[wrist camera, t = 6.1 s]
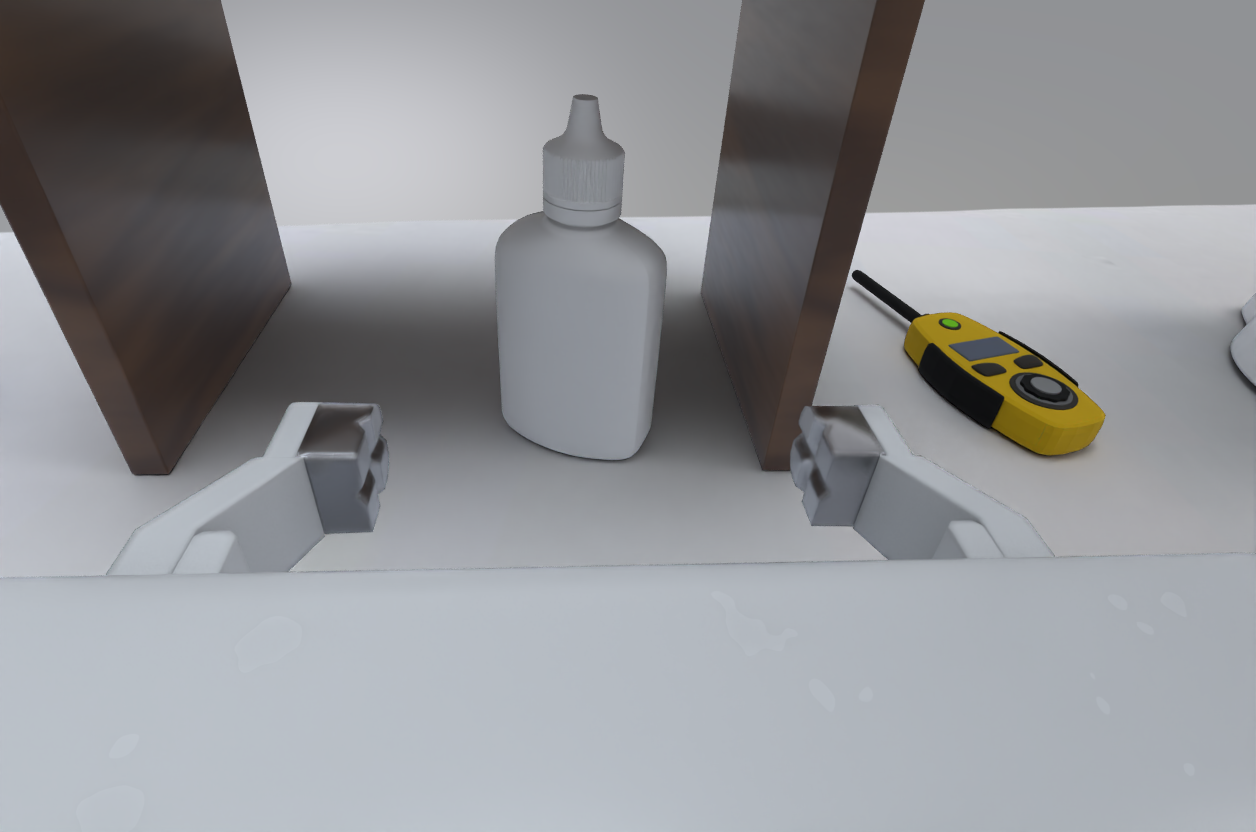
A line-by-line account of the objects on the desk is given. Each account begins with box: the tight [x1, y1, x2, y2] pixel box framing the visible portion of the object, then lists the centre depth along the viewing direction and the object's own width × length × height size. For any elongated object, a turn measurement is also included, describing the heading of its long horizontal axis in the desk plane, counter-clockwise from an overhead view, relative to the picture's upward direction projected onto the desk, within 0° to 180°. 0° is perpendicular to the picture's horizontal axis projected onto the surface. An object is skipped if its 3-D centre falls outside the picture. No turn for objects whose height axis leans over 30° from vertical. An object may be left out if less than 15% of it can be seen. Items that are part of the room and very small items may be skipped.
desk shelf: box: [0, 0, 925, 474], centre depth 25 cm, size 23×14×18 cm, turn 95°
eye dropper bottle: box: [495, 94, 667, 460], centre depth 23 cm, size 4×6×12 cm
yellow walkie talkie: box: [852, 270, 1106, 455], centre depth 33 cm, size 5×2×15 cm
